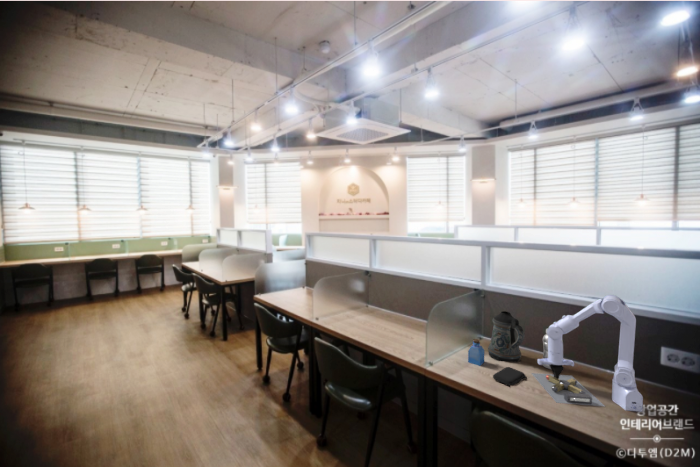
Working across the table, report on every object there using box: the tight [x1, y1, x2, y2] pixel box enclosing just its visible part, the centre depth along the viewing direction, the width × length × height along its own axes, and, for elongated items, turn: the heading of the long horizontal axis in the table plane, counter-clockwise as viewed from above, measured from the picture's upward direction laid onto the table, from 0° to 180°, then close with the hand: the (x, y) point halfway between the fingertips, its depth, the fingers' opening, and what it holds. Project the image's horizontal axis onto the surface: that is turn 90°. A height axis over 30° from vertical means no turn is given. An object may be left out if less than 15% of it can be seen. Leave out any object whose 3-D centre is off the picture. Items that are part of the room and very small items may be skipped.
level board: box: [531, 372, 606, 408], centre depth 134 cm, size 24×18×1 cm
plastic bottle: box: [541, 327, 552, 370], centre depth 152 cm, size 6×7×20 cm
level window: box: [564, 392, 592, 404], centre depth 123 cm, size 3×9×3 cm, turn 81°
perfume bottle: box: [467, 338, 485, 367], centre depth 160 cm, size 6×6×12 cm
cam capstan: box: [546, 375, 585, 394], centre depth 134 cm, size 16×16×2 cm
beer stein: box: [487, 310, 526, 363], centre depth 165 cm, size 16×19×25 cm
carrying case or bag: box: [492, 366, 527, 387], centre depth 143 cm, size 11×3×15 cm
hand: (555, 380), depth 139 cm, fingers closed, pressing on cam capstan
